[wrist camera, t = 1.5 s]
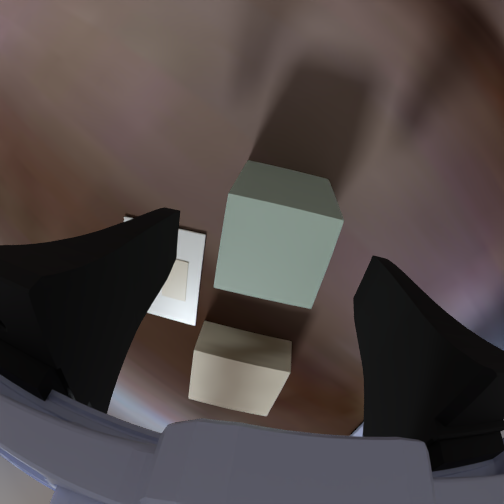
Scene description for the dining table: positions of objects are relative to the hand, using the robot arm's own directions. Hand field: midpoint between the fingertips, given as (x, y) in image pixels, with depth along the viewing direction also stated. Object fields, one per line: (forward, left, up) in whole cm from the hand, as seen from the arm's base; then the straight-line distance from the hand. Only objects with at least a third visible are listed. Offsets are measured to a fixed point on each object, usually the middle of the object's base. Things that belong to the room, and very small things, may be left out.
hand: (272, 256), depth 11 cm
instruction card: (+6, +6, -5) cm, 10 cm away
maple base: (0, +12, -5) cm, 13 cm away
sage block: (0, 0, -5) cm, 5 cm away
